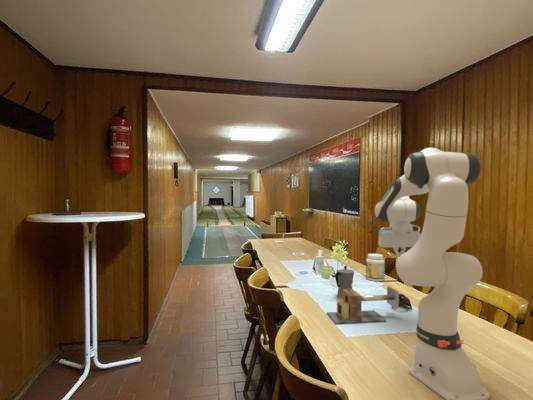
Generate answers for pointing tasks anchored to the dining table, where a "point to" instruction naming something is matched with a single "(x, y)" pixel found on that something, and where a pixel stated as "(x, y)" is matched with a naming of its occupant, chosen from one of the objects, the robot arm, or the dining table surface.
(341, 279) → the coffeepot
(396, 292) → the shaft
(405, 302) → the dark openwork dome
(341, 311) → the tan flat block
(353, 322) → the bearing block
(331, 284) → the dining table surface
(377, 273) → the supplement tub
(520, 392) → the dining table surface
